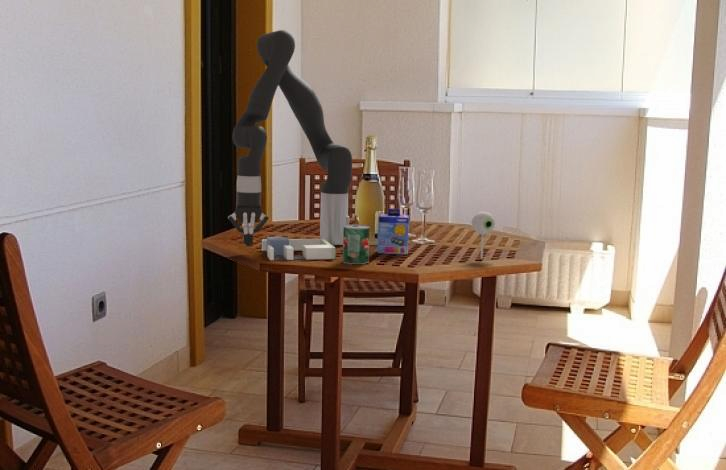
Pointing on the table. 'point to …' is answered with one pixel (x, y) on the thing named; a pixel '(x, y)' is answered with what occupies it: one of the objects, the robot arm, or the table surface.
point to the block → (277, 244)
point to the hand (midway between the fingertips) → (247, 245)
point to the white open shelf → (309, 247)
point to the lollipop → (483, 225)
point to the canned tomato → (356, 244)
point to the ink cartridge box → (393, 233)
